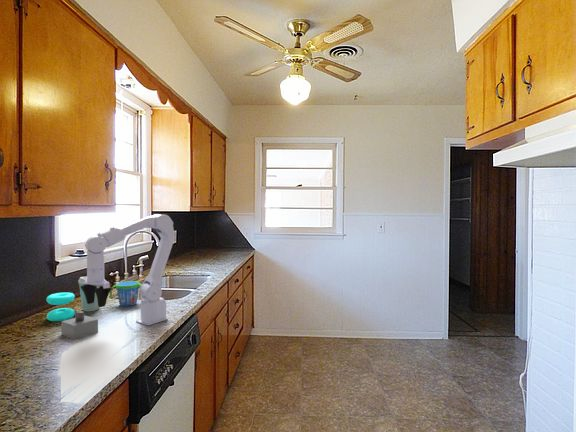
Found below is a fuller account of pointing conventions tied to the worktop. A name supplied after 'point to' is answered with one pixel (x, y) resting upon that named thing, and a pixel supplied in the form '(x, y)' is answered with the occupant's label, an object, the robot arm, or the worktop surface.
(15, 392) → the worktop surface
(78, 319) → the grey block
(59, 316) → the donuts
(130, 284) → the snack cup
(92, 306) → the disposable coffee cup
